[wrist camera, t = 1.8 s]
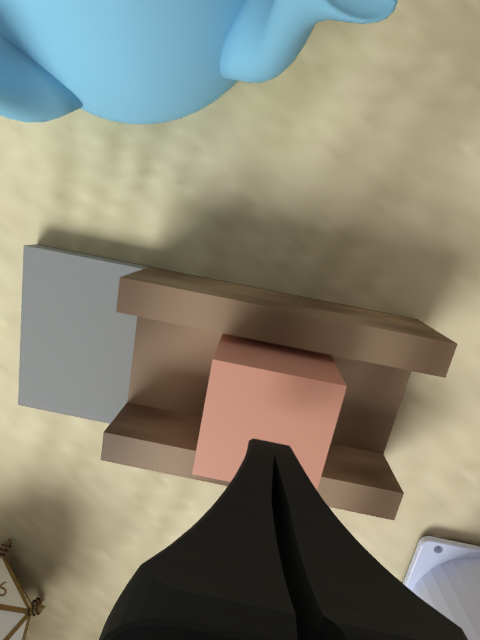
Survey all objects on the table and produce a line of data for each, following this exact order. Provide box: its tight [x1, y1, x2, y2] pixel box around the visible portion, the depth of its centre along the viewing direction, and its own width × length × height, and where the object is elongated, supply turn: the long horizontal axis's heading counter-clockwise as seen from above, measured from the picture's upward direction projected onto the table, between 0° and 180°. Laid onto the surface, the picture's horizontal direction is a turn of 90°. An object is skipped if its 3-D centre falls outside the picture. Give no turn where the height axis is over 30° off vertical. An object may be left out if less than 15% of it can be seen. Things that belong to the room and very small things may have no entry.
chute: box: [101, 267, 457, 520], centre depth 18 cm, size 14×9×4 cm, turn 79°
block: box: [192, 333, 347, 490], centre depth 17 cm, size 5×5×5 cm
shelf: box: [18, 244, 148, 424], centre depth 20 cm, size 6×9×1 cm
